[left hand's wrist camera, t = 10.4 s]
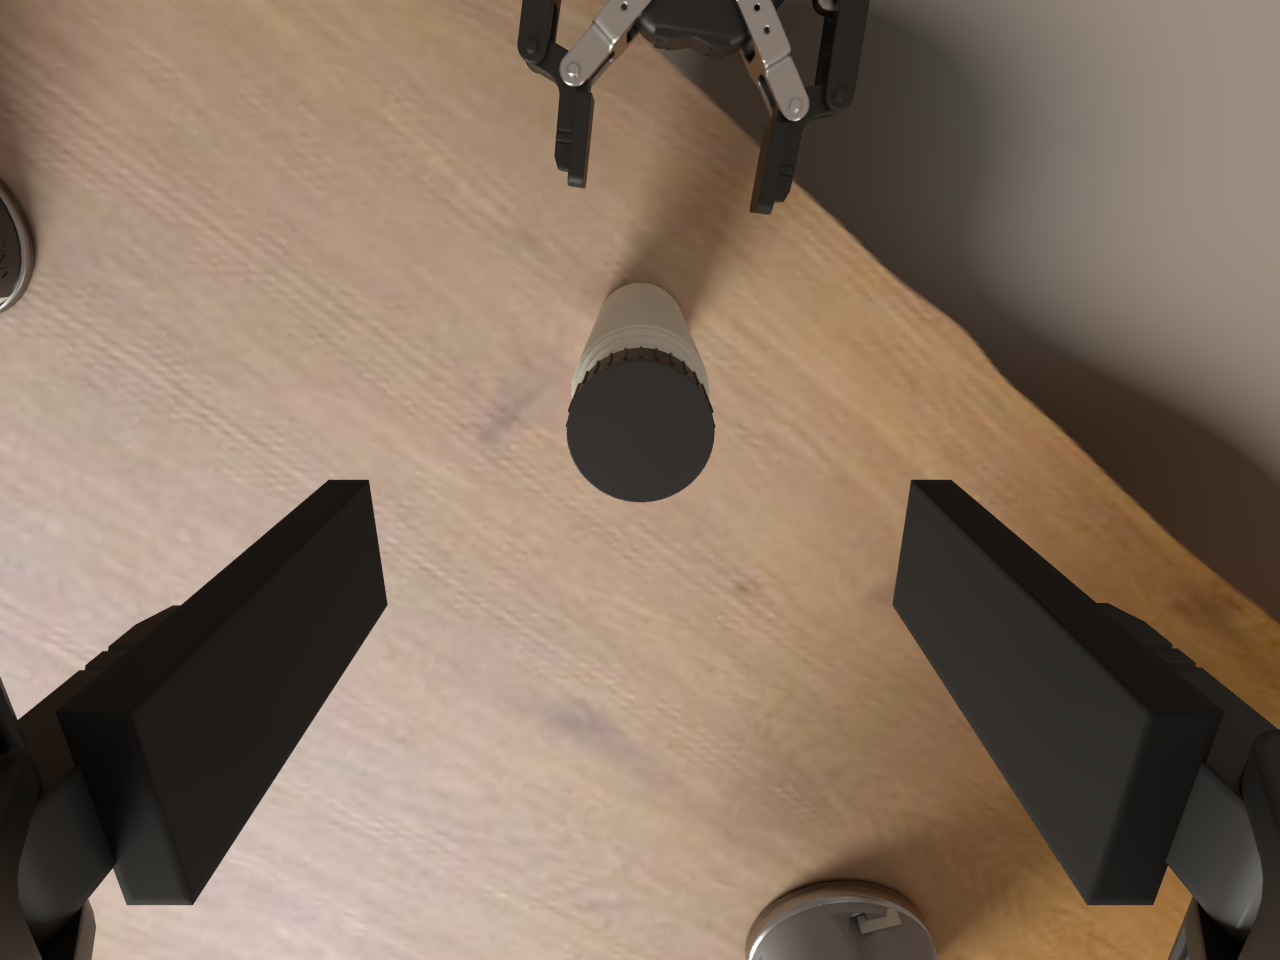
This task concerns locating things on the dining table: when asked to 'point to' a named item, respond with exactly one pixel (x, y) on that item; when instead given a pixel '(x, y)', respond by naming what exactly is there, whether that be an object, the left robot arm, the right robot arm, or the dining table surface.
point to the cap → (640, 425)
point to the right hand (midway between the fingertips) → (668, 200)
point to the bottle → (640, 329)
